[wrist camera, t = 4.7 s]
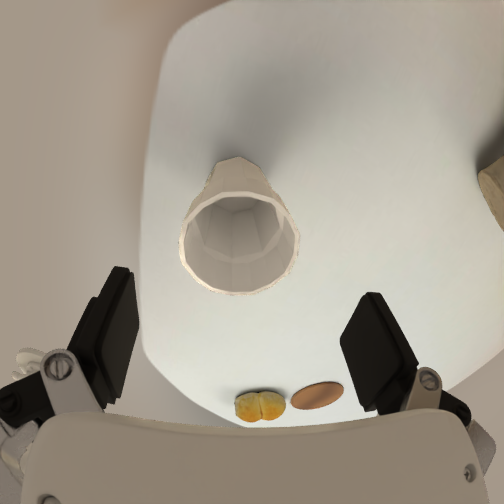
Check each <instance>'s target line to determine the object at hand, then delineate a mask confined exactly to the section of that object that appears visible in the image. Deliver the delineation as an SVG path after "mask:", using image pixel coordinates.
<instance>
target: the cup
mask: <svg viewBox="0 0 504 504" xmlns="http://www.w3.org/2000/svg"><path fill="white" fill-rule="evenodd" d="M299 241H300V233H299V231H298V229H297V227H296V225H295V223H294V221H293V218H292V216H291V214H290V213H289V211H288V209H287V208H286V206H285V204H284V203H283V201H282V199H281V198H280V196H279V195H278V194H277V193H276V192H275V191H274V190H273V189H272V187H271V186H270V184H269V183H268V181H267V179H266V178H265V176H264V174H263V173H262V171H261V169H260V167H258V166H256V165H254V164H253V163H251V162H249V161H247V160H246V159H244V158H242V157H236V158H232V159H228V160H224V161H220V162H217V164H216V166H215V167H214V169H213V171H212V172H211V174H210V176H209V177H208V179H207V181H206V184H205V187H204V189H203V191H202V192H201V193H200V194H199V195H198V196H197V197H196V198H195V199H194V200H193V201H192V203H191V206H190V208H189V210H188V212H187V214H186V216H185V218H184V221H183V224H182V229H181V233H180V238H179V242H178V244H179V251H180V257H181V263H182V264H183V266H184V267H185V268H186V270H187V271H188V272H189V273H190V275H191V276H192V277H193V279H194V280H196V281H197V282H199V283H200V284H201V285H203V286H204V287H206V288H207V289H209V290H210V291H213V292H218V293H222V294H227V295H232V296H233V295H254V294H256V293H259V292H261V291H263V290H266V289H268V288H270V287H273V286H274V285H275V284H276V283H278V282H279V281H280V280H282V279H283V278H284V277H285V276H287V275H288V274H289V273H290V271H291V269H292V267H293V265H294V262H295V260H296V258H297V256H298V251H299Z"/></svg>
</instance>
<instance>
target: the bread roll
mask: <svg viewBox="0 0 504 504" xmlns="http://www.w3.org/2000/svg"><path fill="white" fill-rule="evenodd" d="M285 408H286V403H285V399H284V398H283V397H282V396H281V395H279V394H277V393H274V392H266V391H262V392H260V393H258V394H257V393H254V392H251V393H247V394H244V395H241V396H239V397H238V398H236V400H235V411H236V416H238V417H239V418H240V419H242V420H243V421H246V422H256V421H258V420H260V419H263V420H274V419H276V418H278V417H279V416H281V415H282V413H283V412H284V411H285Z"/></svg>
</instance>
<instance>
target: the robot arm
mask: <svg viewBox="0 0 504 504" xmlns="http://www.w3.org/2000/svg"><path fill="white" fill-rule="evenodd" d="M138 330H139V315H138V308H137V300H136V291H135V281H134V274H133V273H132V272H130V271H129V269H128V268H125V267H118V266H115V267H114V268H113V269H112V271H111V273H110V275H109V277H108V279H107V280H106V282H105V284H104V286H103V288H102V290H101V292H100V294H99V296H98V297H92V298H91V300H90V301H89V303H88V305H87V307H86V309H85V311H84V313H83V315H82V317H81V319H80V321H79V323H78V325H77V328H76V330H75V332H74V334H73V336H72V338H71V341H70V343H69V345H68V347H67V350H65V349H56V350H52V351H50V352H48V353H47V354H46V355H45V356H44V357H43V359H42V361H41V364H40V363H36V362H29V363H28V364H27V365H26V368H25V370H26V374H23V375H22V374H20V373H18V372H16V371H13V372H12V378H13V379H15V380H17V381H16V382H14V383H11V384H9V385H7V386H5V387H3V388H2V389H0V504H489V499H488V494H487V489H486V485H485V481H484V478H483V477H484V475H485V473H486V471H487V469H488V467H489V465H490V463H491V461H492V459H493V457H494V454H495V451H496V444H495V441H494V440H493V438H492V437H491V436H490V435H489V434H488V433H487V432H486V431H485V430H484V429H483V428H482V427H481V426H480V425H479V424H478V423H477V422H476V421H475V419H473V420H471V412H470V409H469V407H468V406H467V405H466V404H465V403H464V402H462V401H461V400H459V399H457V398H455V397H454V396H452V395H451V394H449V393H447V392H446V391H444V390H442V381H441V378H440V376H439V375H438V373H437V372H436V371H434V370H433V369H431V368H429V367H422V368H420V369H419V370H418V369H417V366H418V364H419V363H418V361H417V359H416V357H415V355H414V353H413V351H412V349H411V347H410V345H409V343H408V341H407V339H406V337H405V336H404V334H403V332H402V330H401V328H400V326H399V325H398V323H397V321H396V319H395V317H394V316H393V314H392V312H391V310H390V309H389V307H388V305H387V303H386V302H385V300H384V298H383V296H382V295H381V294H380V293H376V292H367V293H366V294H365V295H363V296H362V297H361V299H360V301H359V303H358V305H357V307H356V309H355V311H354V313H353V315H352V317H351V319H350V320H349V322H348V324H347V326H346V328H345V330H344V331H343V333H342V335H341V337H340V346H341V348H342V351H343V354H344V357H345V360H346V363H347V366H348V369H349V372H350V375H351V378H352V381H353V384H354V387H355V390H356V393H357V396H358V400H359V403H360V405H361V406H363V408H364V411H365V412H369V411H375V410H376V409H377V411H378V414H377V416H376V417H371V418H366V419H359V420H353V421H346V422H338V423H330V424H320V425H309V426H295V427H271V428H241V427H215V426H201V425H190V424H181V423H171V422H163V421H156V420H149V419H143V418H136V417H130V416H124V415H118V414H110V413H105V412H104V410H103V409H105V408H106V406H107V403H110V404H115V401H116V398H120V397H121V394H122V390H123V386H124V381H125V377H126V373H127V369H128V366H129V362H130V358H131V354H132V351H133V347H134V344H135V340H136V336H137V333H138Z"/></svg>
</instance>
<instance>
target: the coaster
mask: <svg viewBox="0 0 504 504" xmlns="http://www.w3.org/2000/svg"><path fill="white" fill-rule="evenodd" d="M343 391H344V390H343V387H342V385H340V384H338V383H334V382H325V383H319V384H314V385H311V386H308V387H306V388H304V389H302V390H300V391H298V392H297V393H295V394H294V395H293V397H292V398H291V404H292V406H293V407H295V408H297V409H303V410H309V409H316V408H320V407H324V406H326V405H329V404H331V403H333V402H334V401H336V400H337V399H339V398H340V397H341V395H342V394H343Z"/></svg>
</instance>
